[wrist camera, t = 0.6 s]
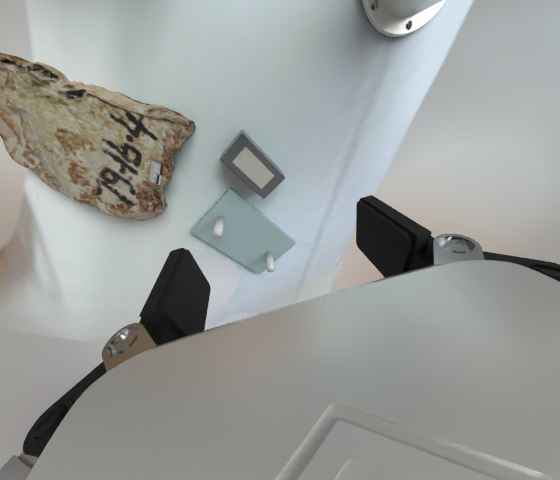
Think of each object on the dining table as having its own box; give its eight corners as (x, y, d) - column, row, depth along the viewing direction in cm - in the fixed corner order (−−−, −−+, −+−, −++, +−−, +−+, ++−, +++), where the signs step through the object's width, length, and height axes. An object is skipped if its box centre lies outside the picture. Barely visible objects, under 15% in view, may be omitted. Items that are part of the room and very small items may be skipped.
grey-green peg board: (230, 187, 36) (228, 200, 31) (294, 240, 45) (300, 257, 40) (191, 229, 39) (184, 247, 34) (258, 271, 48) (259, 290, 43)
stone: (166, 239, 34) (-53, 185, 25) (174, 223, 39) (-7, 172, 30) (191, 124, 26) (-130, -25, 16) (198, 121, 30) (-47, 4, 21)
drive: (242, 129, 31) (242, 132, 27) (281, 170, 35) (285, 178, 32) (222, 153, 33) (219, 159, 29) (261, 189, 37) (263, 199, 33)
